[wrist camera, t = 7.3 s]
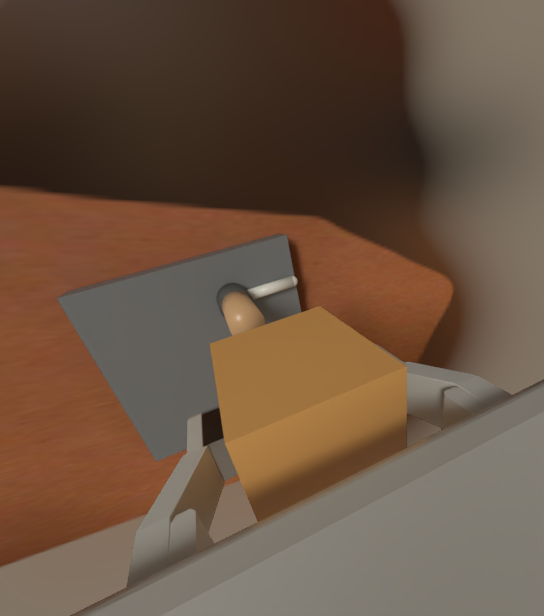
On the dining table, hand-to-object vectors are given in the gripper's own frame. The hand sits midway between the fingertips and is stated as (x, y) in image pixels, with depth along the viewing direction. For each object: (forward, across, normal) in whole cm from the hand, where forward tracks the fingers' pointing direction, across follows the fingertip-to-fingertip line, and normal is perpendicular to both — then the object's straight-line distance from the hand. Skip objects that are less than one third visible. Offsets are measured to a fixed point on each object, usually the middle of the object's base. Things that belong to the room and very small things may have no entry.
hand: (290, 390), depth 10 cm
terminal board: (+15, +3, +5) cm, 16 cm away
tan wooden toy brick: (+2, 0, 0) cm, 2 cm away
